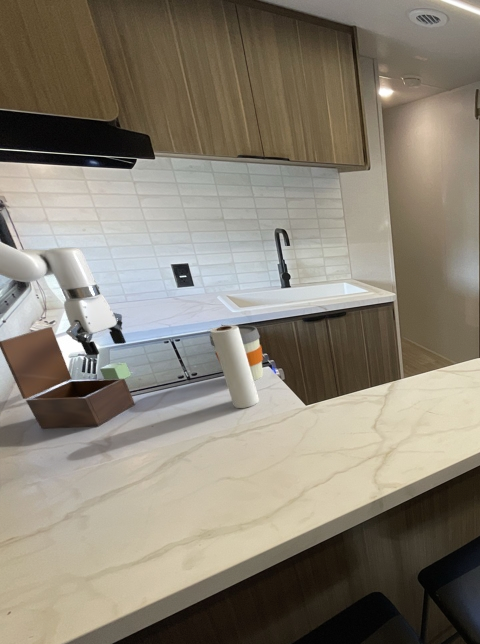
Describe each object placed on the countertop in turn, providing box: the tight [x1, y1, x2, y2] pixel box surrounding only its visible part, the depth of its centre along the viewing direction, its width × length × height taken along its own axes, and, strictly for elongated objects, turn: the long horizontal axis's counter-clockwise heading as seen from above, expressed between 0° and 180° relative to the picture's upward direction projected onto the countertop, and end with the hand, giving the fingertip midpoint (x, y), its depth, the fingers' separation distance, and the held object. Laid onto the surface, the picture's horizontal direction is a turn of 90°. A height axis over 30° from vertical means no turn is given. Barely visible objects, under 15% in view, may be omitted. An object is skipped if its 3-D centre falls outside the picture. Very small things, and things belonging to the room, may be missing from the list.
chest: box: [25, 378, 136, 429], centre depth 102 cm, size 14×12×8 cm
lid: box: [0, 326, 73, 400], centre depth 97 cm, size 14×12×1 cm
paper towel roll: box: [209, 324, 260, 409], centre depth 105 cm, size 7×6×21 cm
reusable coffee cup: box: [208, 325, 264, 382], centre depth 122 cm, size 13×12×15 cm
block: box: [99, 362, 132, 379], centre depth 125 cm, size 4×4×4 cm
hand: (107, 348), depth 122 cm, fingers open, 9 cm apart
